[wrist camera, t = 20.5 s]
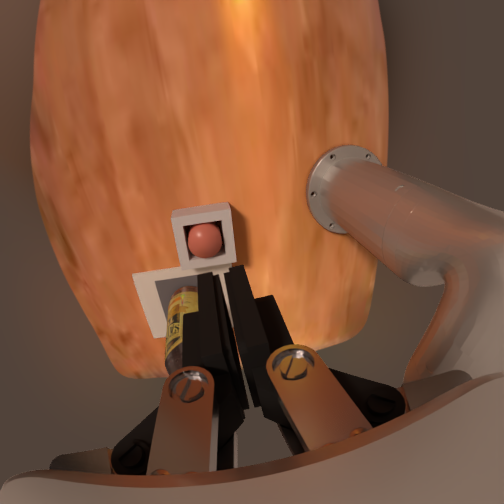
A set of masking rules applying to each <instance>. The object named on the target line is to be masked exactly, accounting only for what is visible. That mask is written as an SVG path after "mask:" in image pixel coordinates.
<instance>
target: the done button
mask: <svg viewBox="0 0 504 504" xmlns="http://www.w3.org/2000/svg"><path fill="white" fill-rule="evenodd" d="M188 246H189V249H190V251H191V252H192V253H193V254H194V255H195V256H197V257H200V258H210V257H213V256H214V255H216V254H217V253H218V252H219V251H220V249H221V246H222V239H221V234H220V230H219V227H218V225H217V224H216V223H215V222H214V221H213V222H206V223H199V224H193V225H191V226H190V228H189V235H188Z"/></svg>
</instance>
